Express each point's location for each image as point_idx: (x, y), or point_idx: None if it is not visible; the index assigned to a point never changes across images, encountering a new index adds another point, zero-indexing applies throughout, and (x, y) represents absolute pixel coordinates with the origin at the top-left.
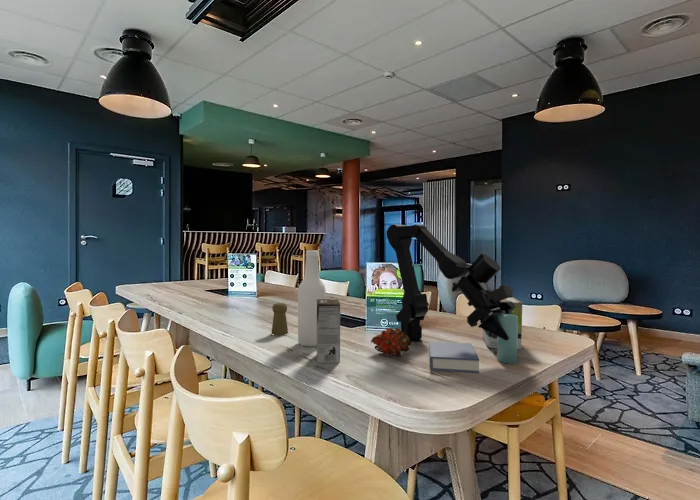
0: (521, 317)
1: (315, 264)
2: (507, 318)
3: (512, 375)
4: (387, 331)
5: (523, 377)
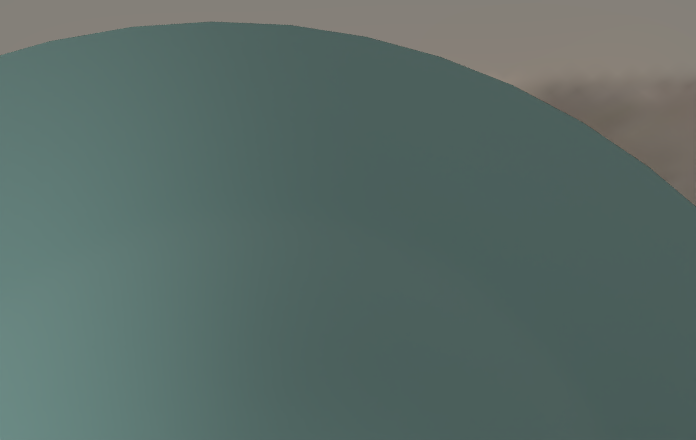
0: None
1: None
2: None
3: (665, 178)
4: None
5: (626, 99)
